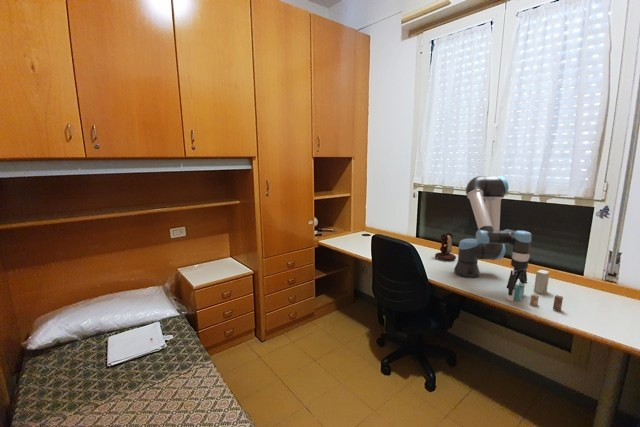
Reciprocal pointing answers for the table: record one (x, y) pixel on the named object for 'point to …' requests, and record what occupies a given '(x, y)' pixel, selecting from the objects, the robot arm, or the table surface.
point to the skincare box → (541, 281)
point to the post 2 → (557, 303)
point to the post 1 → (534, 299)
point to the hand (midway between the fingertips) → (515, 297)
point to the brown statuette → (446, 248)
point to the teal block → (518, 292)
